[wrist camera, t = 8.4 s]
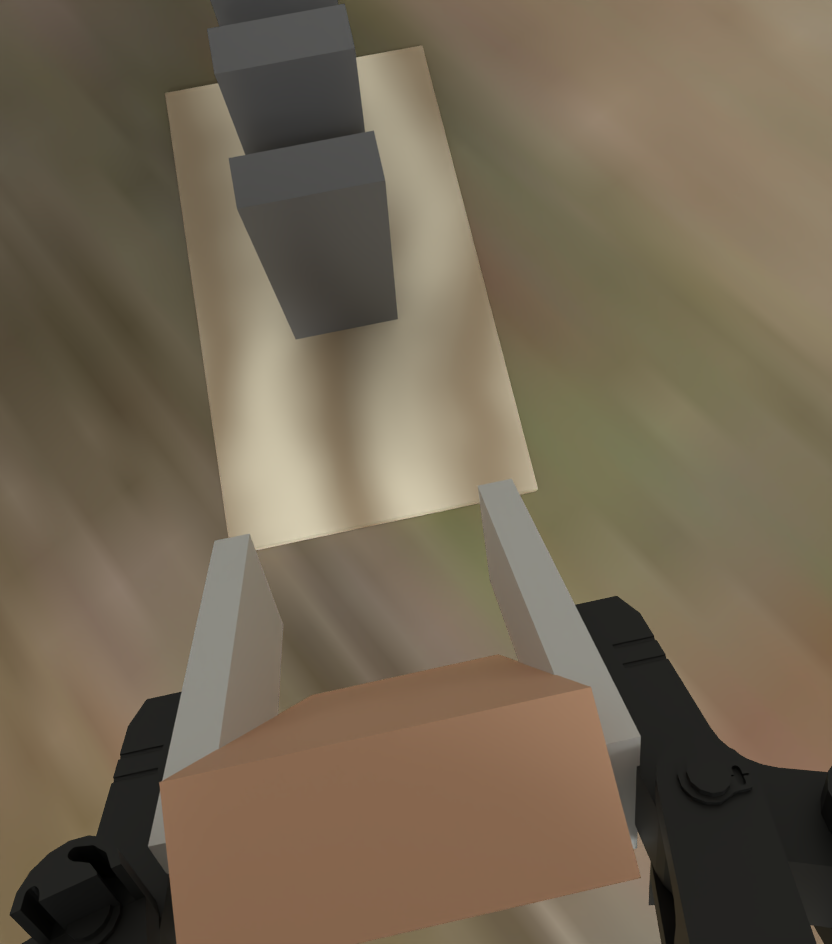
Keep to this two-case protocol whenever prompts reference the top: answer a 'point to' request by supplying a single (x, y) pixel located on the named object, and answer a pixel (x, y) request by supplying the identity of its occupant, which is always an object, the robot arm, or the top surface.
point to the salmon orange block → (397, 810)
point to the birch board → (349, 339)
